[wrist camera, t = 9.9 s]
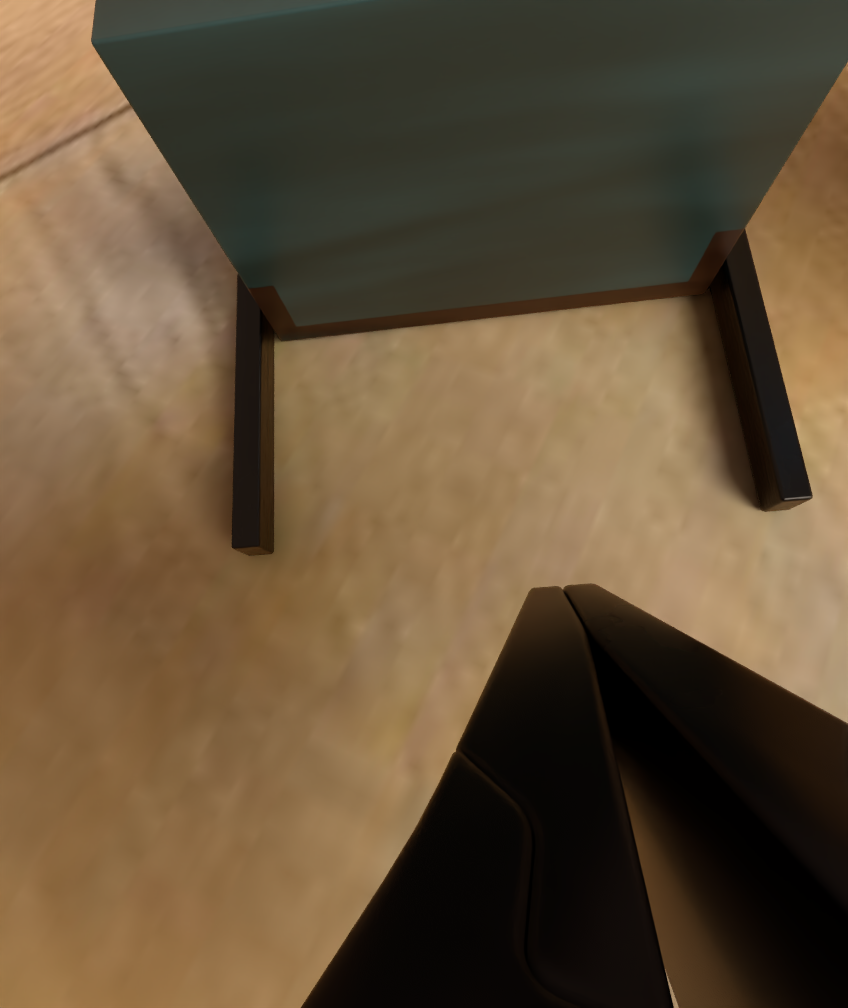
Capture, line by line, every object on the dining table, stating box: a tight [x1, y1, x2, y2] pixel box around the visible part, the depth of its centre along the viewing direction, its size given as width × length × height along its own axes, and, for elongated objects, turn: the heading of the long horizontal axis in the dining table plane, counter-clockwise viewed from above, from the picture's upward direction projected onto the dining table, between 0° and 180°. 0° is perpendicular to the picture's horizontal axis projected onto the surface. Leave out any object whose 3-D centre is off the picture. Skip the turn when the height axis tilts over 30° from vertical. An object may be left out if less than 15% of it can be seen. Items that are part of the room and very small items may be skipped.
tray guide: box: [232, 229, 813, 556], centre depth 19 cm, size 24×15×1 cm, turn 4°
